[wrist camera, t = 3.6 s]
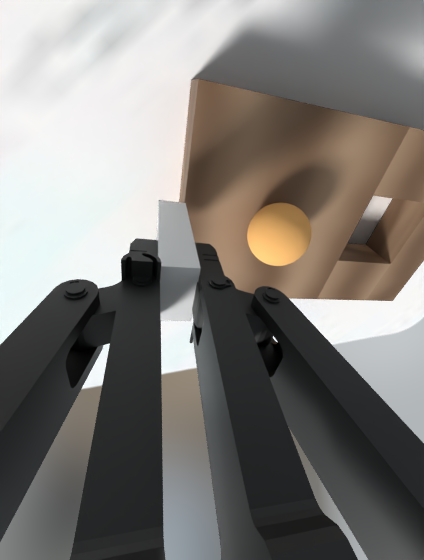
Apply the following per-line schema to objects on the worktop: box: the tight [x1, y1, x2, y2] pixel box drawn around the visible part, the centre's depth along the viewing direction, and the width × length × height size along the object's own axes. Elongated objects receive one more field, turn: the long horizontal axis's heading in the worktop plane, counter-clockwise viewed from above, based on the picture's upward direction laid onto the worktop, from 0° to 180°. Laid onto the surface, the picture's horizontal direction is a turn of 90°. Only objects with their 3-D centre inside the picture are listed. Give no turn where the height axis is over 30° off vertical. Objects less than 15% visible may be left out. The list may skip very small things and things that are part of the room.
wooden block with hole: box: [179, 79, 424, 301], centre depth 21 cm, size 22×14×4 cm, turn 79°
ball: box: [247, 203, 312, 266], centre depth 16 cm, size 4×4×4 cm
